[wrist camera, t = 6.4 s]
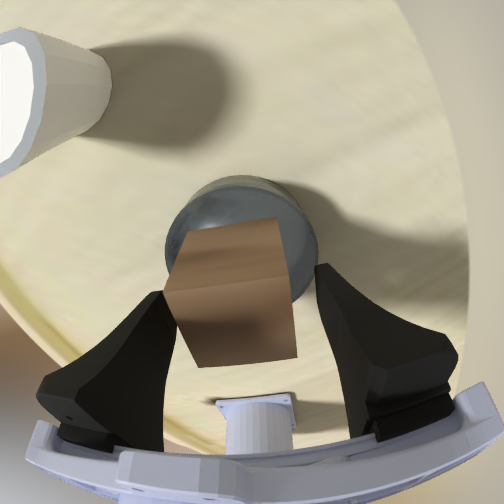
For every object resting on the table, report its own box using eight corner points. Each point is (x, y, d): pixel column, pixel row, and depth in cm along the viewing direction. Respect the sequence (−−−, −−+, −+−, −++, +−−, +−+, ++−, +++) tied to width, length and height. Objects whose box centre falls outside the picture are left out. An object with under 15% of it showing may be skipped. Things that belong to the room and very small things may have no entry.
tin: (310, 281, 19) (318, 310, 17) (194, 295, 20) (187, 324, 17) (303, 163, 15) (314, 176, 13) (162, 184, 16) (146, 202, 13)
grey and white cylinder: (105, 21, 10) (32, -4, 4) (136, 113, 13) (65, 128, 7) (28, 80, 11) (-47, 91, 5) (55, 162, 14) (-17, 202, 8)
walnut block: (286, 289, 16) (297, 358, 12) (209, 299, 16) (198, 367, 12) (276, 216, 14) (288, 275, 9) (188, 231, 14) (162, 292, 10)
